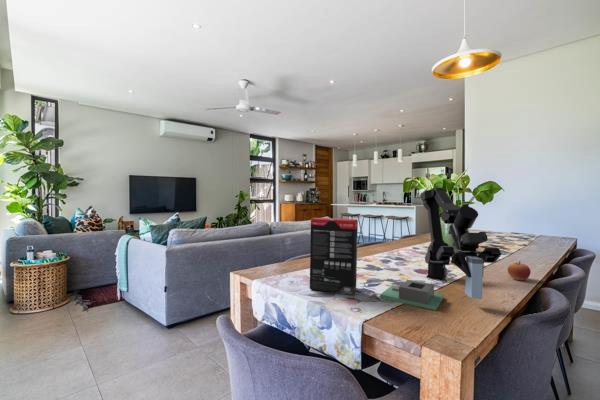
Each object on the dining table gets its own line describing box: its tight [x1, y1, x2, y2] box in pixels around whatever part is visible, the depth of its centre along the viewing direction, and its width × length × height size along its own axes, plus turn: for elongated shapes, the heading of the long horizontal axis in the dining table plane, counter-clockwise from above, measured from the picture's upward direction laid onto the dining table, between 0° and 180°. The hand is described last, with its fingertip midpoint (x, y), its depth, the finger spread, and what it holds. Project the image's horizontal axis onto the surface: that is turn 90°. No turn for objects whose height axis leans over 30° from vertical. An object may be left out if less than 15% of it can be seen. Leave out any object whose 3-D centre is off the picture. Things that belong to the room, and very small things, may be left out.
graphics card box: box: [309, 217, 359, 296], centre depth 108 cm, size 17×7×27 cm, turn 71°
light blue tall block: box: [464, 256, 484, 300], centre depth 93 cm, size 3×4×12 cm
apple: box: [507, 260, 532, 281], centre depth 124 cm, size 8×8×8 cm
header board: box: [379, 279, 445, 311], centre depth 101 cm, size 18×13×5 cm
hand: (476, 277), depth 92 cm, fingers closed on light blue tall block, 3 cm apart
